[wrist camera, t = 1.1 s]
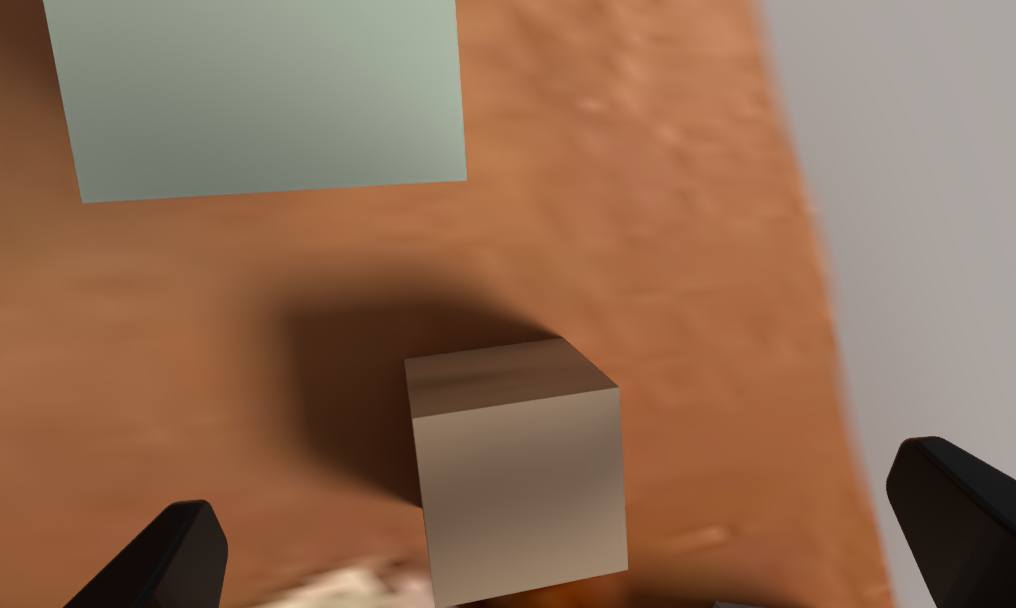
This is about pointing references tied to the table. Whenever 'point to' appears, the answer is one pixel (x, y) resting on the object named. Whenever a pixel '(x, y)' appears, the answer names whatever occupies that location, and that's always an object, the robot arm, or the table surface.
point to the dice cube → (731, 605)
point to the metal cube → (517, 468)
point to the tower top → (257, 95)
